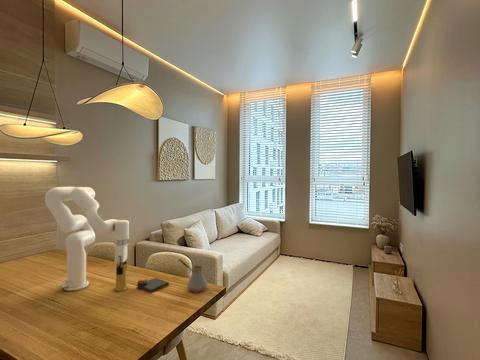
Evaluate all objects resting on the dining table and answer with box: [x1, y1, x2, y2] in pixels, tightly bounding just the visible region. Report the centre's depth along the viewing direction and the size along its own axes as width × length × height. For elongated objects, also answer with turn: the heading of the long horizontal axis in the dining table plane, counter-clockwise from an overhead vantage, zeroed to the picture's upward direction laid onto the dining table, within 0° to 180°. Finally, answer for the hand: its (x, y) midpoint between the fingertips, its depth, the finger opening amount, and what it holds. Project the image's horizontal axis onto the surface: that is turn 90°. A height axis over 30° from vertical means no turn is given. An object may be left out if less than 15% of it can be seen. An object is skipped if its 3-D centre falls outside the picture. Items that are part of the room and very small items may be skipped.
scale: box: [137, 277, 170, 294], centre depth 155 cm, size 14×13×4 cm
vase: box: [114, 263, 128, 292], centre depth 151 cm, size 6×6×14 cm
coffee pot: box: [177, 258, 208, 293], centre depth 155 cm, size 21×12×15 cm, turn 57°
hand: (121, 271), depth 151 cm, fingers open, 9 cm apart
